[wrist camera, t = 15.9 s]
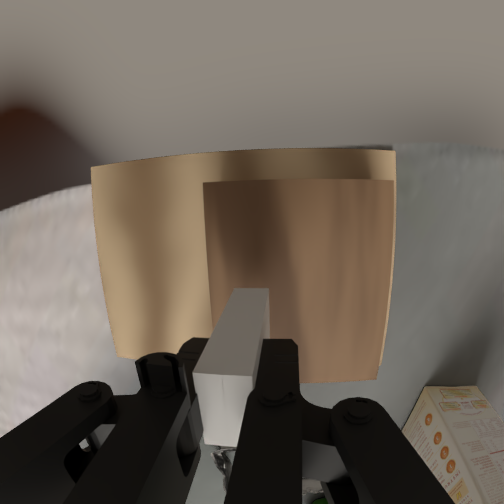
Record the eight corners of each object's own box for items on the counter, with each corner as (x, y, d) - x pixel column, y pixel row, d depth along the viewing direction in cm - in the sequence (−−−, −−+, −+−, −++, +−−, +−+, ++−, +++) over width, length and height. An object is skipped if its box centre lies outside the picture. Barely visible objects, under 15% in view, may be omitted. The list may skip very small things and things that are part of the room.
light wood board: (120, 353, 25) (117, 356, 25) (95, 167, 22) (90, 167, 21) (379, 361, 23) (380, 365, 22) (392, 151, 19) (395, 150, 19)
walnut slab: (217, 380, 19) (376, 379, 17) (202, 182, 16) (393, 180, 15) (230, 346, 23) (362, 345, 22) (220, 182, 20) (371, 180, 19)
